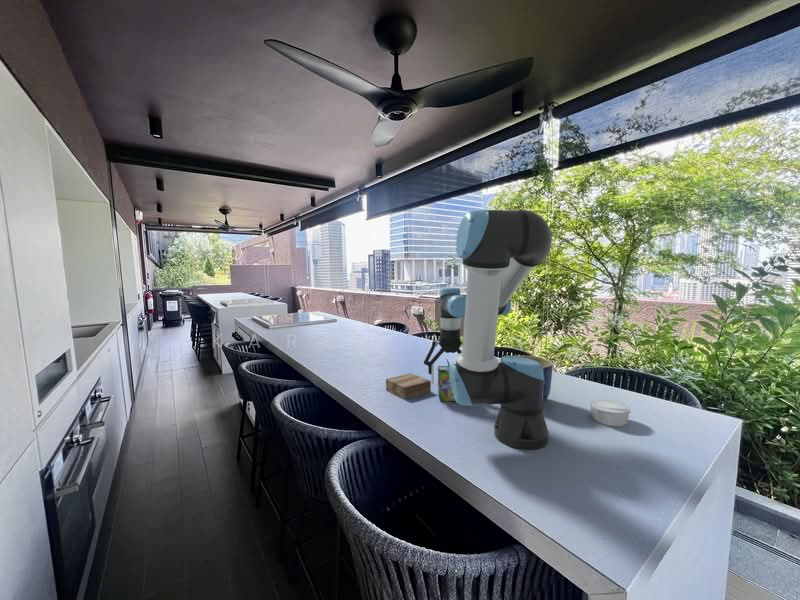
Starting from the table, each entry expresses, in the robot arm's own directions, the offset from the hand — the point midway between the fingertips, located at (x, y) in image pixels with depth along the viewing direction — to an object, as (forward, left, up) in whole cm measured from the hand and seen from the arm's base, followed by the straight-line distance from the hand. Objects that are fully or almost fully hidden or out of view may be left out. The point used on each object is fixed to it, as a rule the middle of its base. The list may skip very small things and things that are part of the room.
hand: (450, 382), depth 132 cm
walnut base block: (+16, +8, -6) cm, 19 cm away
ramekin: (-47, -24, -6) cm, 53 cm away
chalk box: (0, 0, -6) cm, 6 cm away
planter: (-21, -19, -6) cm, 29 cm away
